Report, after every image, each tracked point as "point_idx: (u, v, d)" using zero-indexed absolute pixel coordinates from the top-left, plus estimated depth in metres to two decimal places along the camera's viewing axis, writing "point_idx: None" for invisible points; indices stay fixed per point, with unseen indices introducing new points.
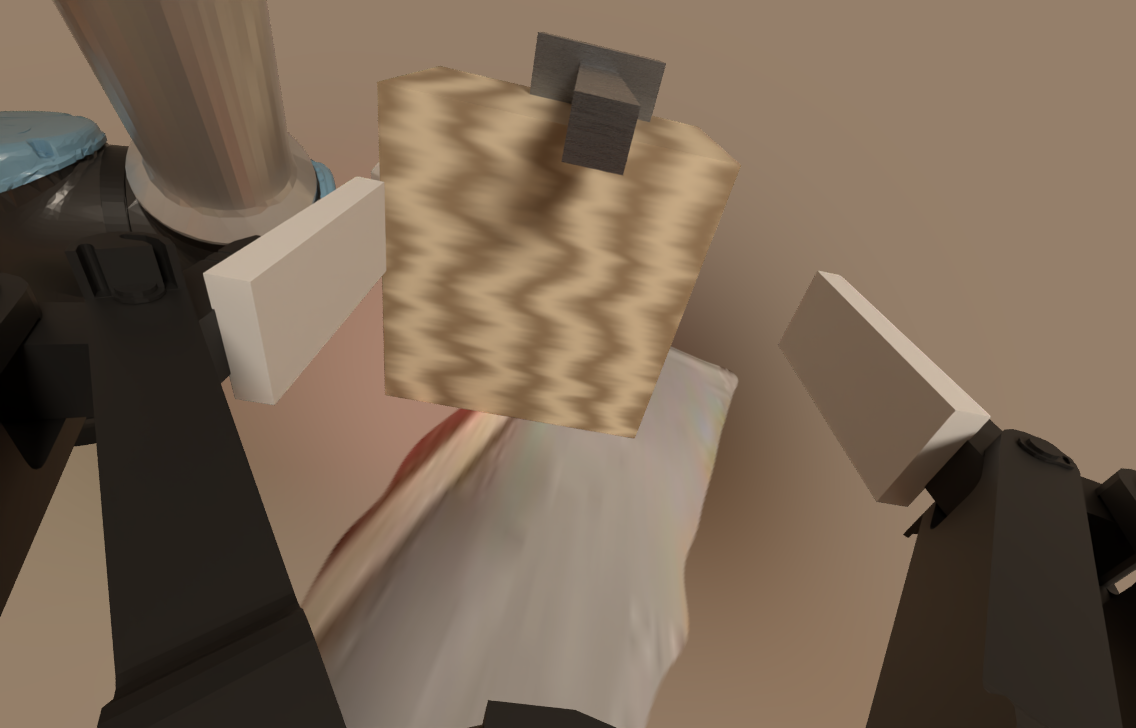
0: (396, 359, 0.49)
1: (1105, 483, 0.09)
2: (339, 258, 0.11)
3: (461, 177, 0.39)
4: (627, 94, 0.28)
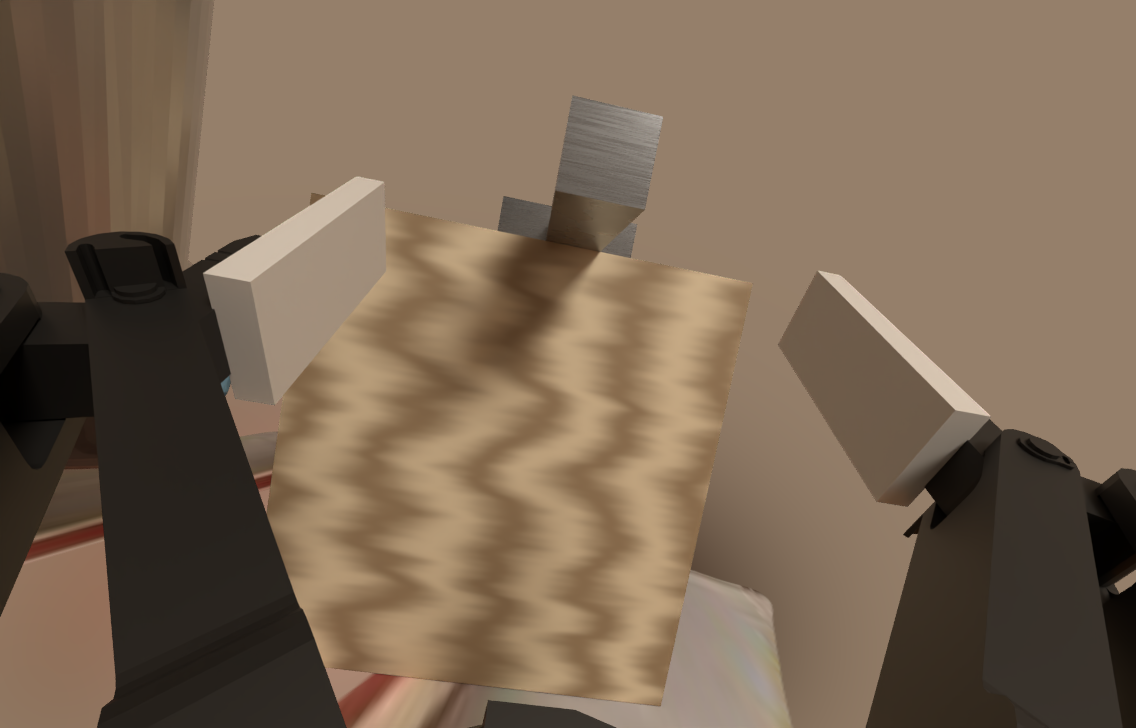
0: None
1: (1105, 483, 0.09)
2: (339, 258, 0.11)
3: (407, 303, 0.30)
4: None
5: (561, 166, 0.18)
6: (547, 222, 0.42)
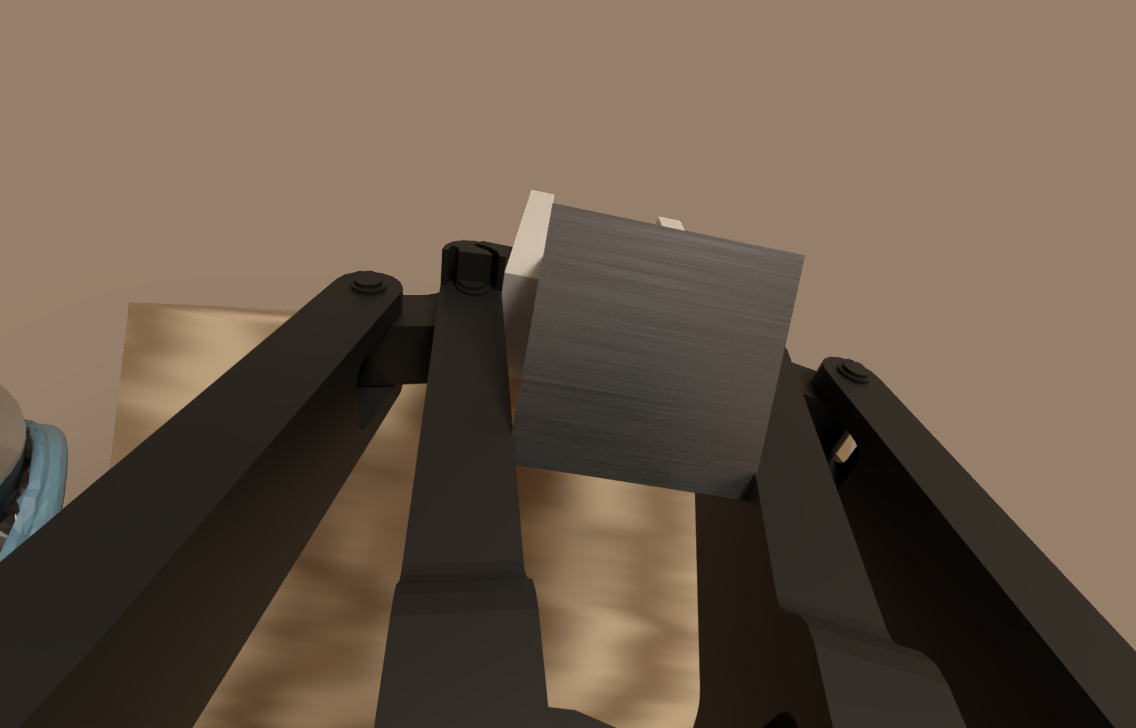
0: None
1: (816, 376, 0.10)
2: None
3: None
4: None
5: (522, 398, 0.06)
6: None
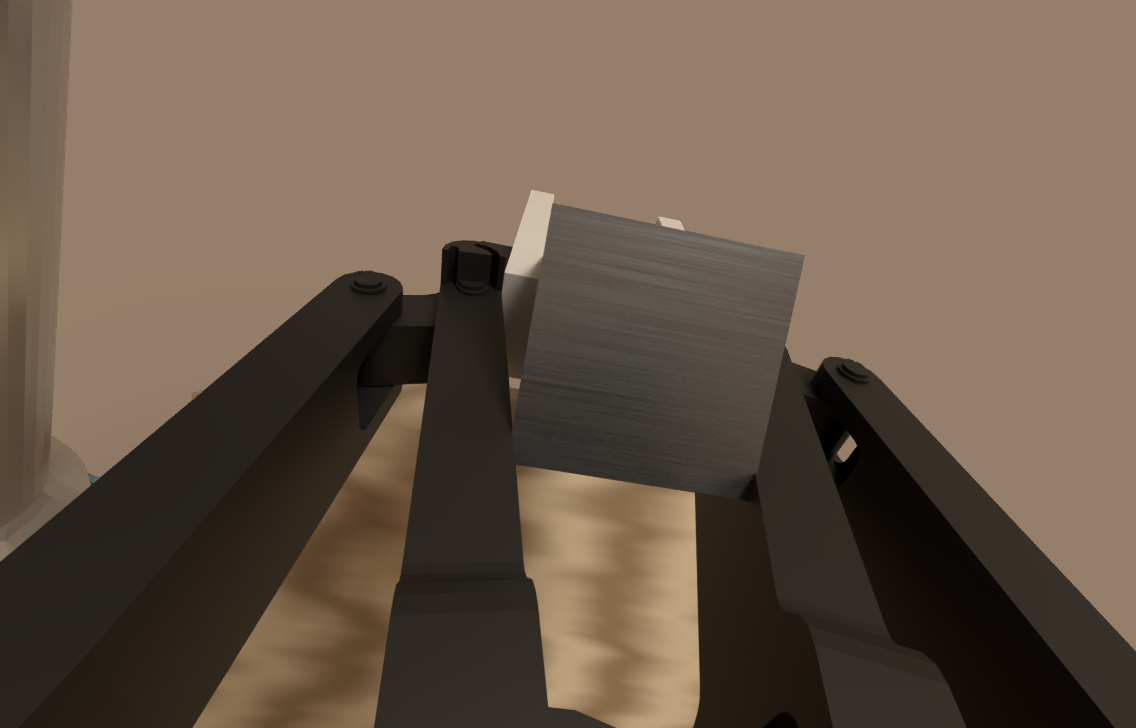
0: None
1: (817, 375, 0.10)
2: None
3: (324, 531, 0.22)
4: None
5: (522, 398, 0.06)
6: None
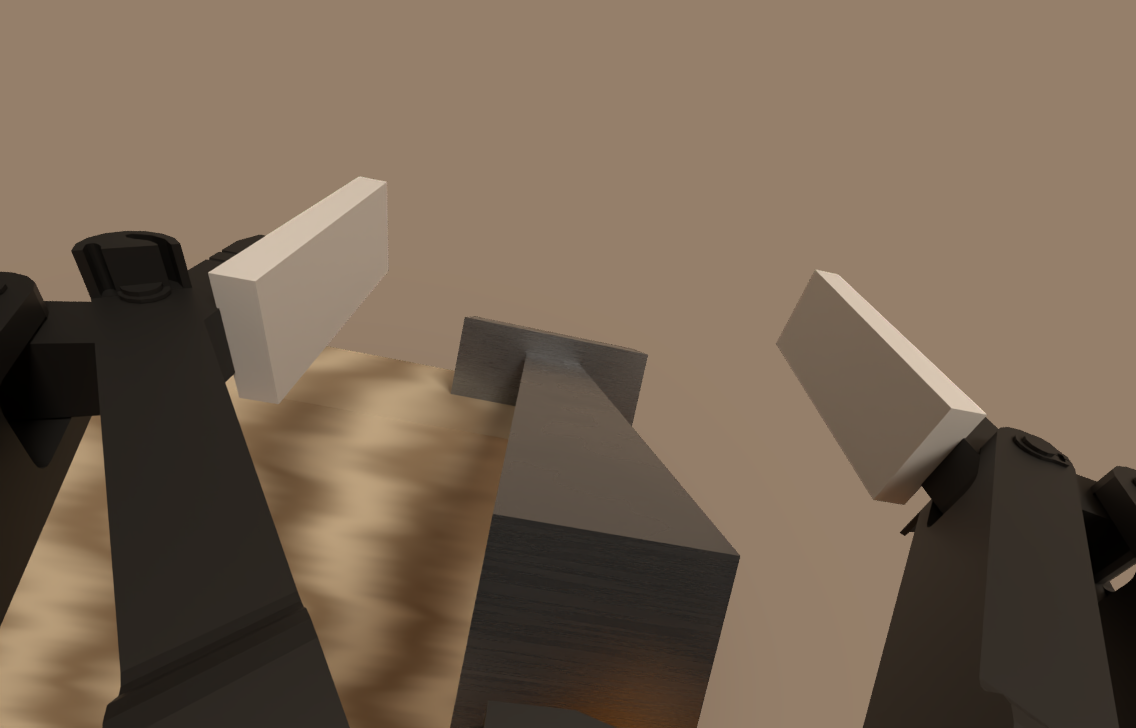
0: None
1: (1100, 481, 0.09)
2: (342, 258, 0.11)
3: (105, 486, 0.22)
4: (642, 455, 0.11)
5: (462, 691, 0.07)
6: (525, 352, 0.31)
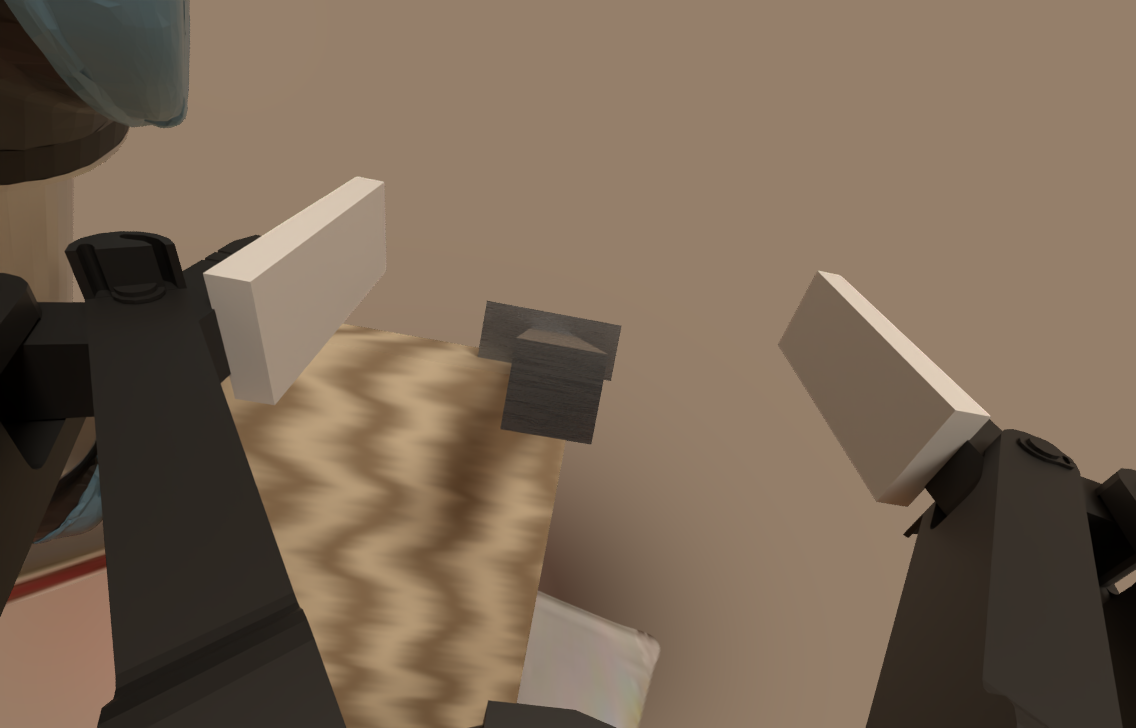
0: None
1: (1105, 483, 0.09)
2: (339, 258, 0.11)
3: (259, 409, 0.33)
4: (587, 345, 0.22)
5: (506, 406, 0.18)
6: (531, 325, 0.42)
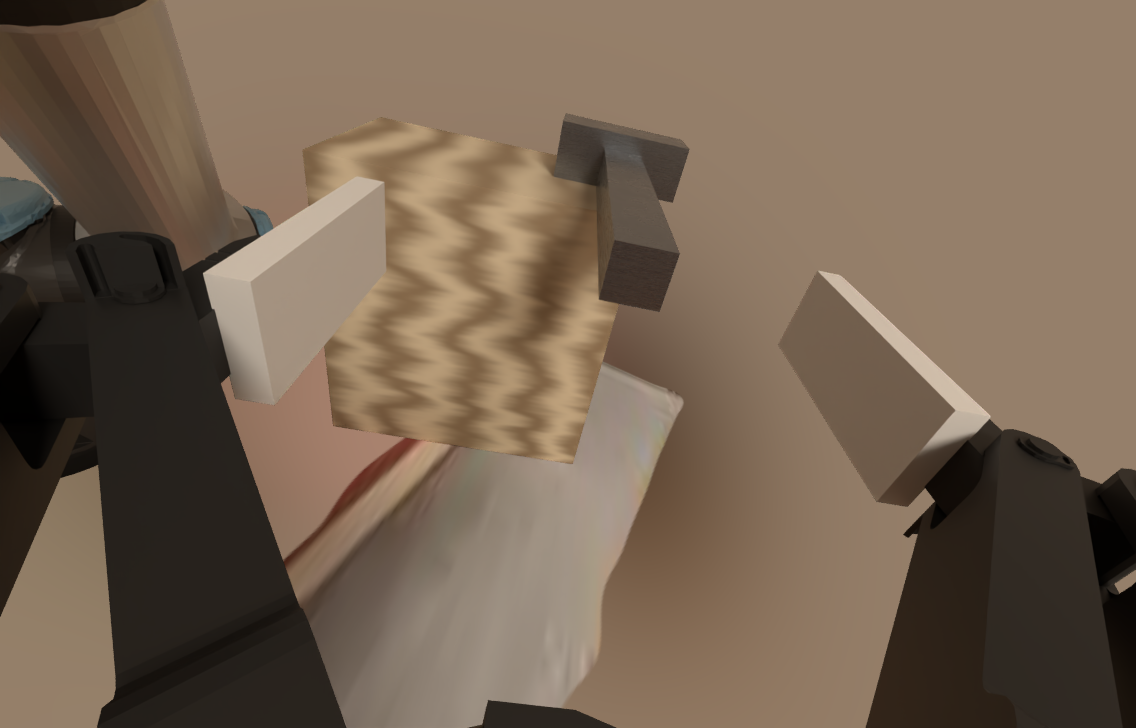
0: (340, 393, 0.52)
1: (1105, 483, 0.09)
2: (339, 258, 0.11)
3: (386, 232, 0.42)
4: (662, 224, 0.29)
5: (603, 285, 0.26)
6: (603, 147, 0.45)
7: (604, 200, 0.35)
